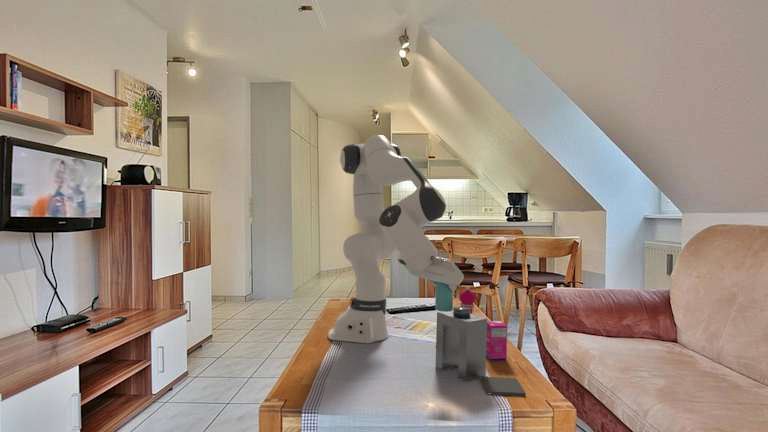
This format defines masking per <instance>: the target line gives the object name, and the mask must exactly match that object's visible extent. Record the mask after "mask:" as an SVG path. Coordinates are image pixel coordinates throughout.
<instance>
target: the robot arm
mask: <svg viewBox="0 0 768 432" xmlns="http://www.w3.org/2000/svg"><path fill="white" fill-rule="evenodd" d="M339 155H340V156H339V163H340V166H341V168H342V171H344V173H346V174H349V175H353V183H352V189H353V190H352V191H353V192H352V194H353V196H352V197H353V208H354V209H353V210H354V217H355V218H356V220H357V221H358V222H359V223H360V225H361V226H362V229H363V231H364V232H357V233H355V234H352V235H349V236H348V237H346V239H345V240H344V243H343V246H342V250H343V254H344V257H345V259H346V260H348V261H349V262H350V264H351V266H352V268H353V272H354V276H355V296H351V297H350V298H349V308H347V310H345V311H343V313H341V314H340V315H338V316H337V318H336V320H335V322H334V327H332V328H331V329H330V330H328V334H327V337H328V339H329V340H332V341H340V342H351V343H361V344H372V343H374V342H379V341H383V340H386V339H387V338H389V332H388V328H387V327H388V326H387V319H386V313H387V298H386V282H387V280H386V277H385V275H384V274H383V273H382V272H381V271H380V267H379V261H386V260H387V259H388V260H389V258H391V257H394V256H395V255H396V254H397V252H398V251H399V253H400V254H398V256H397V258H396V260H397V262H398V263H399V264H400V265H402V266H403V268H405V270H406V271H408V272H409V273H410V274H411V275H412V276H414V277H418V278H421V279H426V280H427V281H429V282H430V284H433V286H434V287H435V288H436V281H437V282H441V283H445V284H447V285H448V289H449V290H450V291H453V292H456V290H457V289H458V287H459V286H460V284H461V283H462V282H463V280H464V278H465V275H464V273H463V272H462V271H461V269H459V267H458V266H457V265H456V264H455V263H454V262H453V261H452V260H450V259H449V258H445V257H439V256H438V254H439V253H438V248H436V247H435V245H434V244H433V243H432V241H431V240H430V238H429V237H428V236H427V235H426V234H424V233H423V232H422V229H421V228H423V227H425V226H426V225H428V224H430V223H432V222H434V221H436V220H438V219H440V218H442V217H443V216H444V214H445V211H446V209H447V204H446V200H445V198H444V196H443V195H442V194H441V192H440V191H439V190H438V189H436V187H434V186H433V185H432V184H431V183H430V181H429V180H428V179H427V178H426V176H425V174H424V173H423V172H422V171H421V170H420V169H419V168H418V167H417V165H416V164H414V162H413V161H412V160H411V159H410V158H408V157H407V156H402V154H401V149H400V147H399V146H398V145H397V144H394V143H391V141H390V140H389V139H388V138H387V137H386V136H384V135H380V134H376V135H372V136H370V137H368V138H367V139H366V141H364V143H359V144H354V143H352V144H348V145H345V146H343V147H342V149H341V152H340V154H339ZM402 182H412V184H413V185H414V187H415V188H416V189H415V190H414V191H413V192H412V193H411V194H410V195H407V196H406V197H405V198H403V199H401V200H399V201H397V202H395V203H394V204H393V205H390V206H388V207H386V208H385V204H384V195H383V186H387V187H388V186H390V187H391V186H394V185H396V184H399V183H402Z"/></svg>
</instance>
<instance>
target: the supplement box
mask: <svg viewBox="0 0 768 432" xmlns="http://www.w3.org/2000/svg"><path fill="white" fill-rule="evenodd" d="M507 347H508V325H507V324H506V323H504V322H503V321H501V320H491V321H490V320H487V345H486V358H488V360H490V361H507V357H508V356H507V355H508V354H507V351H508V349H507Z"/></svg>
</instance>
